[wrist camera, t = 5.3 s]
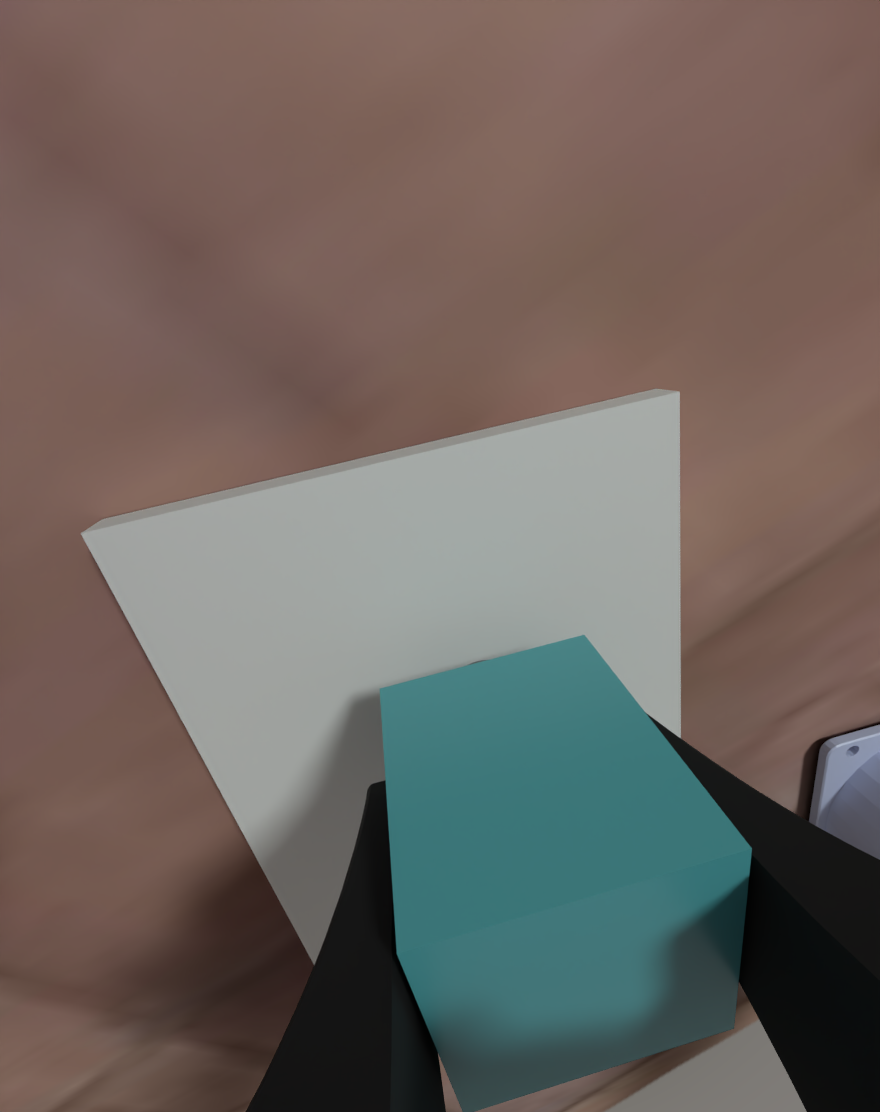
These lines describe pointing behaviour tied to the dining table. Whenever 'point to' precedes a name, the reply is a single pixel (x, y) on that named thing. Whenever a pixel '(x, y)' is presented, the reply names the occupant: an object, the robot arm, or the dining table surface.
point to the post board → (396, 605)
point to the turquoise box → (554, 873)
